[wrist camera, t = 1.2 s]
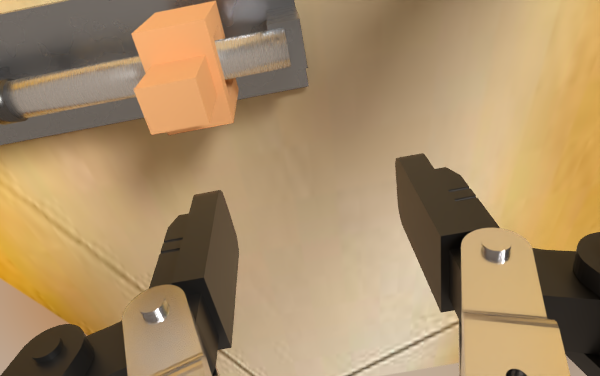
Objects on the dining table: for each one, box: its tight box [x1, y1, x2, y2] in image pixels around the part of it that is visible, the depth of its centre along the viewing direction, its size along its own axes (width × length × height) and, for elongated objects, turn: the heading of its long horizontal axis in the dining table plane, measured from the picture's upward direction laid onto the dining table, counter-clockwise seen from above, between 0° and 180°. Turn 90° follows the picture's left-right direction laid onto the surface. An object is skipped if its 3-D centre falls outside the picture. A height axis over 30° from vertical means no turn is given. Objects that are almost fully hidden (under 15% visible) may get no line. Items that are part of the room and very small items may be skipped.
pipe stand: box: [0, 0, 308, 145], centre depth 30 cm, size 26×9×7 cm, turn 100°
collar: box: [131, 1, 239, 135], centre depth 26 cm, size 4×6×10 cm, turn 10°
